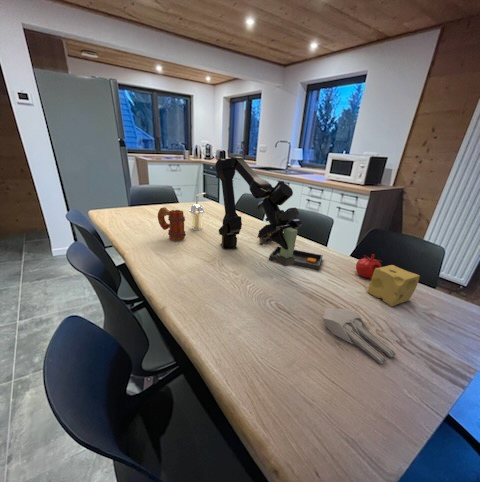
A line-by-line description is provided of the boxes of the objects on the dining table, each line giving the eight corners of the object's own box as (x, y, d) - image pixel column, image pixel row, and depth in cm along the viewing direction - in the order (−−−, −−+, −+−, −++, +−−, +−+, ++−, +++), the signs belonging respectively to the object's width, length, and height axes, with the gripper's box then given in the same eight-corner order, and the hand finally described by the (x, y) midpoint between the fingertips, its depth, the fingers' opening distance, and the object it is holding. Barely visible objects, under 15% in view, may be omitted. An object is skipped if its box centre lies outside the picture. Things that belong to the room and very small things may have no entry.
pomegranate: (350, 274, 108) (355, 253, 104) (359, 268, 115) (364, 248, 111) (374, 283, 103) (382, 261, 98) (382, 276, 109) (389, 255, 105)
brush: (285, 266, 99) (291, 232, 93) (275, 261, 102) (281, 228, 96) (293, 264, 102) (300, 230, 96) (284, 259, 105) (290, 226, 99)
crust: (306, 263, 114) (307, 260, 114) (307, 260, 117) (308, 257, 117) (314, 264, 113) (315, 261, 113) (315, 262, 116) (316, 258, 116)
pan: (268, 260, 115) (269, 255, 114) (276, 251, 127) (277, 246, 125) (318, 271, 109) (319, 265, 108) (321, 260, 120) (322, 255, 119)
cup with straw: (189, 226, 153) (189, 190, 145) (205, 226, 155) (205, 191, 146) (188, 230, 146) (188, 193, 137) (205, 231, 147) (205, 194, 138)
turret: (372, 374, 63) (381, 361, 60) (313, 319, 76) (318, 307, 74) (394, 359, 68) (403, 346, 66) (335, 310, 81) (340, 298, 79)
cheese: (392, 307, 87) (402, 280, 83) (365, 291, 96) (373, 267, 91) (410, 301, 92) (421, 275, 88) (383, 287, 100) (392, 263, 96)
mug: (189, 238, 134) (189, 209, 128) (181, 243, 127) (180, 212, 121) (164, 233, 138) (163, 205, 132) (155, 238, 131) (153, 208, 125)
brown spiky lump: (290, 240, 133) (268, 223, 128) (276, 255, 137) (254, 240, 132) (285, 232, 143) (264, 216, 138) (272, 246, 147) (251, 231, 142)
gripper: (268, 202, 89) (288, 242, 86) (302, 198, 100) (321, 234, 97) (250, 219, 97) (268, 256, 95) (283, 214, 109) (300, 247, 106)
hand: (290, 248), depth 98 cm, fingers closed on brush, 3 cm apart
